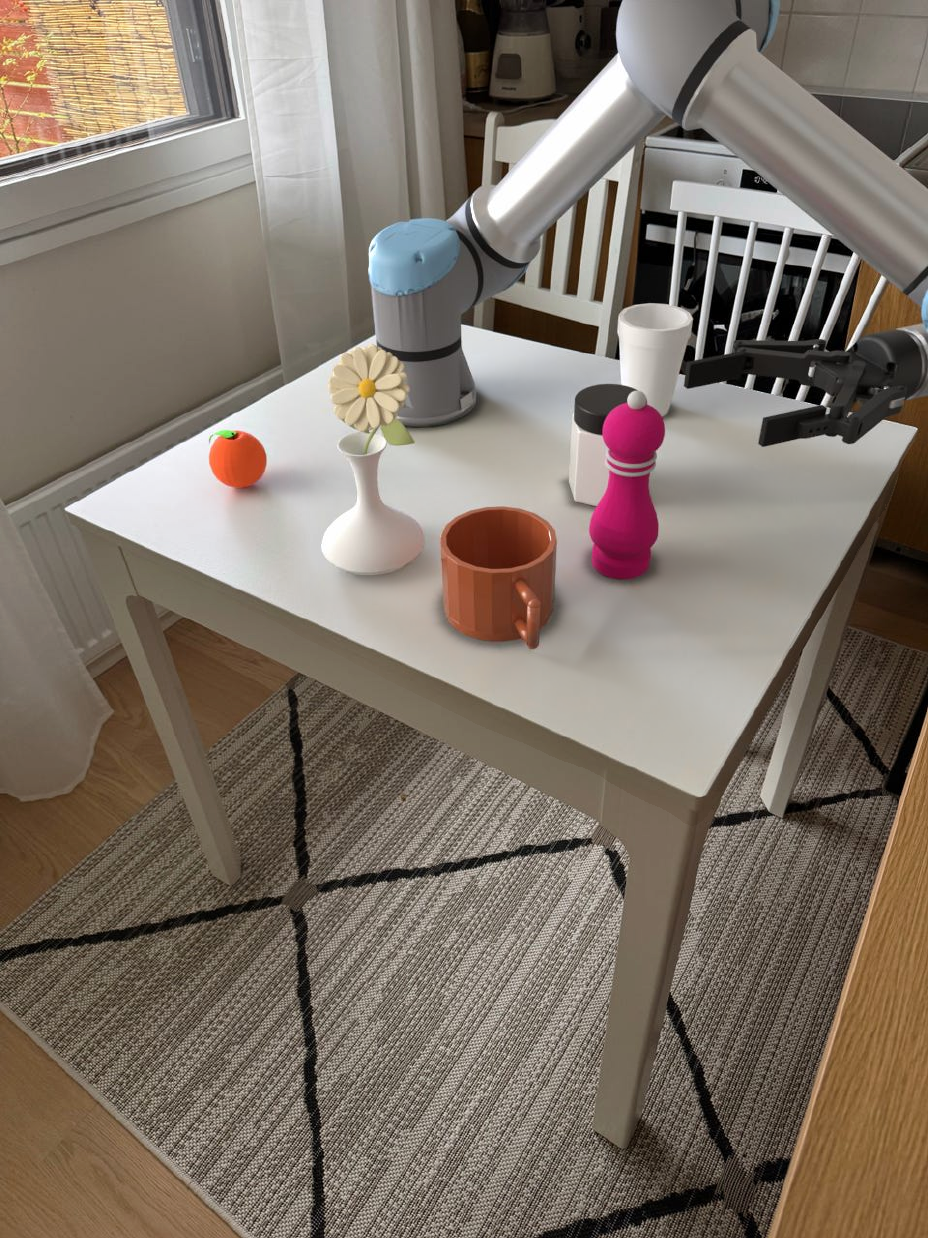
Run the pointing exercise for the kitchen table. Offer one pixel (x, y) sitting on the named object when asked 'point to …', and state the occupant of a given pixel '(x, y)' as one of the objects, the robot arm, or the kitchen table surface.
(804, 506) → the kitchen table surface
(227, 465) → the clementine
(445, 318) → the robot arm
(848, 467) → the kitchen table surface
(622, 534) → the pepper mill
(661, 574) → the kitchen table surface
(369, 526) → the flower in vase
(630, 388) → the jar
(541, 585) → the terracotta coffee mug
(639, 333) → the foam cup
